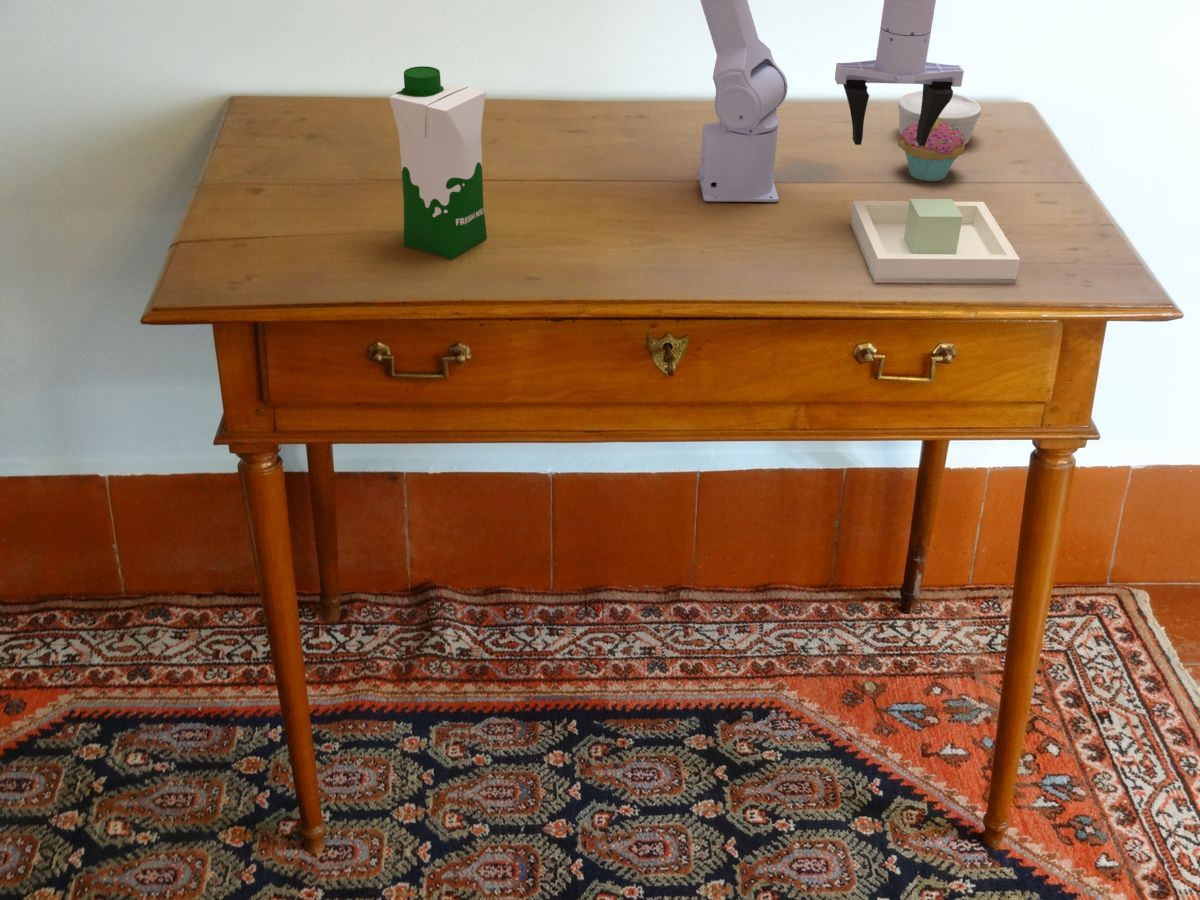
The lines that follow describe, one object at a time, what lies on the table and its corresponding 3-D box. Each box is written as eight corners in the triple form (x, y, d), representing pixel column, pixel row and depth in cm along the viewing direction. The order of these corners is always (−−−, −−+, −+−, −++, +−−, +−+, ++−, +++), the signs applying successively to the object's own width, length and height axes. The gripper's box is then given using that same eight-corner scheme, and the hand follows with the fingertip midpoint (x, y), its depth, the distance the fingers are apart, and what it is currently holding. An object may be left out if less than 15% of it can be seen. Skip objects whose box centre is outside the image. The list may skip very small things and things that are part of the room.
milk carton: (438, 220, 164) (429, 57, 153) (498, 238, 160) (494, 72, 149) (392, 246, 158) (379, 78, 147) (454, 265, 154) (445, 94, 143)
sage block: (912, 256, 157) (919, 216, 154) (903, 238, 161) (909, 198, 158) (955, 256, 157) (962, 216, 154) (945, 238, 161) (952, 199, 158)
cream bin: (874, 282, 152) (877, 258, 150) (850, 223, 165) (852, 200, 164) (1015, 283, 153) (1020, 259, 151) (979, 224, 166) (983, 201, 164)
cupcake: (959, 189, 175) (975, 99, 168) (893, 183, 176) (906, 94, 170) (958, 165, 182) (973, 77, 175) (894, 159, 183) (907, 72, 177)
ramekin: (986, 136, 192) (992, 100, 189) (958, 160, 184) (964, 123, 181) (912, 120, 196) (917, 84, 194) (881, 143, 189) (886, 106, 186)
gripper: (848, 38, 151) (833, 153, 158) (977, 40, 151) (956, 156, 158) (838, 19, 156) (824, 131, 164) (962, 22, 157) (943, 134, 164)
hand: (888, 142), depth 162 cm, fingers open, 7 cm apart
